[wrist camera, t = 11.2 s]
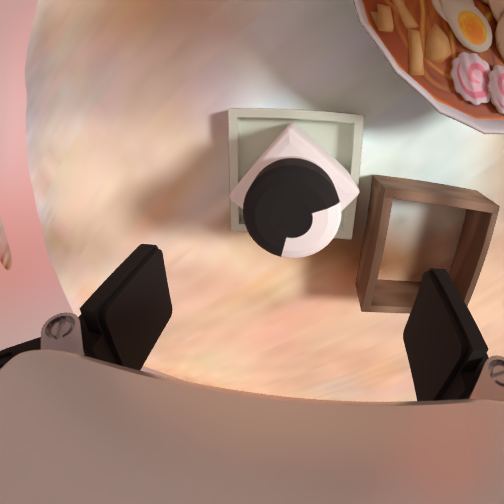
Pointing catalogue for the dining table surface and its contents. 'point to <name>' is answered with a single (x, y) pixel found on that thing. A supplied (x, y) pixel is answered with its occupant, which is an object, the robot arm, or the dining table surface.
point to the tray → (269, 128)
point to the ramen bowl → (445, 53)
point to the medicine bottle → (294, 195)
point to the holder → (382, 193)
